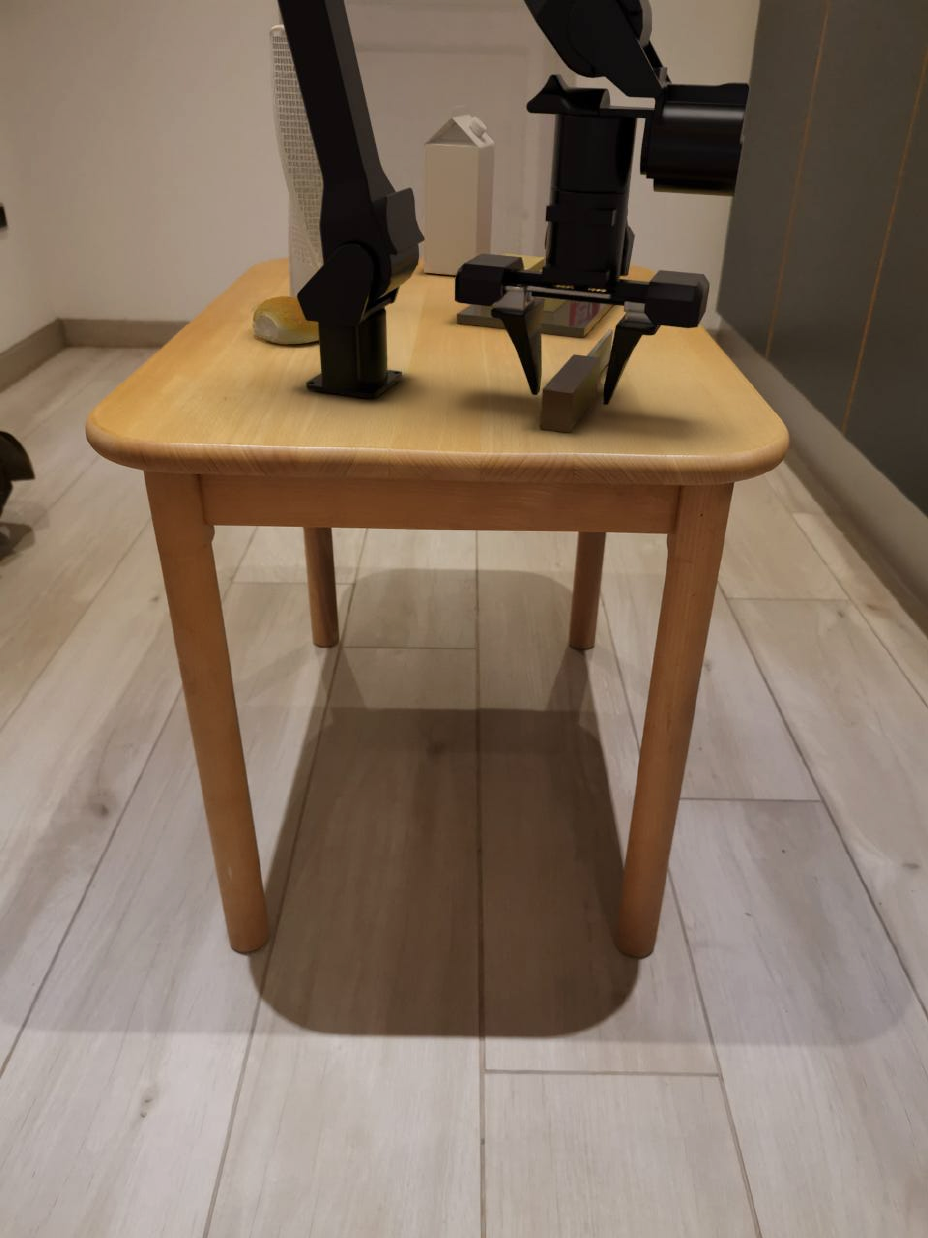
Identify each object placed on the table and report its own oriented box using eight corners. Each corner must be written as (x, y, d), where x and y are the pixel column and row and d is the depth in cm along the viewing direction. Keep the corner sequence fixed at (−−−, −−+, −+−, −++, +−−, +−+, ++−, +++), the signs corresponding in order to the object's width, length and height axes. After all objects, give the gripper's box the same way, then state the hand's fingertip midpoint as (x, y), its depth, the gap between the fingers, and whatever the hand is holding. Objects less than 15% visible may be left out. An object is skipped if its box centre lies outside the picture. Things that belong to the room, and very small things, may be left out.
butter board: (583, 337, 91) (584, 328, 91) (456, 323, 95) (456, 313, 95) (614, 303, 104) (615, 294, 104) (501, 291, 108) (501, 283, 107)
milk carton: (423, 273, 115) (423, 105, 105) (440, 263, 121) (441, 103, 111) (475, 278, 114) (480, 108, 104) (490, 267, 120) (496, 105, 109)
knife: (569, 433, 69) (572, 392, 67) (539, 428, 69) (542, 388, 67) (620, 362, 84) (624, 328, 83) (595, 359, 85) (598, 325, 83)
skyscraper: (370, 302, 102) (360, 7, 87) (345, 319, 95) (329, 3, 80) (302, 296, 104) (280, 5, 88) (273, 312, 97) (244, 2, 82)
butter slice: (553, 312, 96) (556, 273, 94) (535, 310, 97) (538, 271, 94) (571, 296, 102) (574, 259, 100) (554, 294, 103) (557, 258, 101)
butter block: (523, 308, 97) (525, 270, 95) (480, 304, 98) (481, 266, 96) (542, 293, 103) (545, 257, 101) (502, 289, 105) (503, 253, 103)
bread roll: (360, 334, 91) (358, 293, 89) (289, 351, 85) (286, 308, 83) (309, 318, 95) (307, 279, 93) (239, 333, 90) (235, 292, 88)
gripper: (732, 183, 68) (698, 384, 76) (500, 168, 73) (493, 358, 81) (716, 202, 59) (680, 427, 67) (453, 183, 64) (450, 394, 72)
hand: (570, 398), depth 72 cm, fingers open, 6 cm apart
